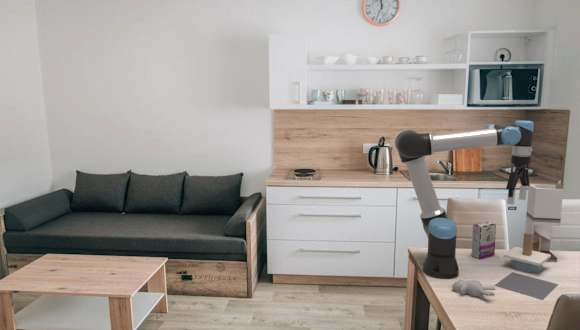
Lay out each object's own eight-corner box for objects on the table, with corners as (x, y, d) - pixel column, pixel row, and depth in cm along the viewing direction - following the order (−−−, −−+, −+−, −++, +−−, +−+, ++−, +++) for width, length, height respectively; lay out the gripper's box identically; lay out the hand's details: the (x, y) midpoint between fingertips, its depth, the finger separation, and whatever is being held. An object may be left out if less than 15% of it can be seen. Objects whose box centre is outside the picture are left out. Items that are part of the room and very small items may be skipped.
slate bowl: (522, 274, 189) (523, 262, 188) (505, 264, 200) (506, 253, 200) (547, 273, 190) (548, 261, 189) (529, 263, 202) (530, 251, 201)
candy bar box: (486, 252, 216) (488, 220, 214) (494, 255, 212) (496, 223, 210) (470, 256, 211) (472, 223, 209) (479, 259, 207) (481, 226, 204)
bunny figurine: (456, 276, 178) (495, 281, 169) (457, 288, 179) (496, 293, 169) (449, 283, 171) (489, 289, 161) (450, 296, 171) (490, 302, 162)
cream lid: (539, 266, 184) (541, 240, 182) (503, 257, 195) (504, 233, 193) (550, 257, 194) (552, 233, 192) (515, 249, 205) (517, 226, 203)
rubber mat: (542, 301, 163) (542, 300, 163) (493, 287, 176) (494, 285, 176) (558, 286, 177) (558, 284, 177) (512, 273, 190) (512, 272, 190)
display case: (530, 260, 205) (536, 188, 200) (523, 252, 215) (528, 184, 210) (556, 262, 203) (563, 189, 197) (548, 254, 213) (554, 185, 208)
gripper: (519, 158, 180) (514, 207, 184) (540, 154, 197) (535, 199, 200) (500, 156, 186) (496, 204, 189) (522, 152, 202) (518, 196, 206)
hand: (516, 201), depth 195 cm, fingers open, 13 cm apart
